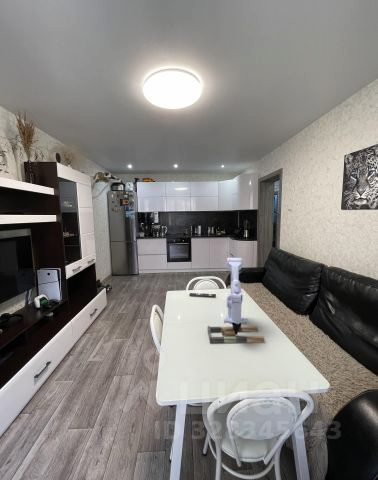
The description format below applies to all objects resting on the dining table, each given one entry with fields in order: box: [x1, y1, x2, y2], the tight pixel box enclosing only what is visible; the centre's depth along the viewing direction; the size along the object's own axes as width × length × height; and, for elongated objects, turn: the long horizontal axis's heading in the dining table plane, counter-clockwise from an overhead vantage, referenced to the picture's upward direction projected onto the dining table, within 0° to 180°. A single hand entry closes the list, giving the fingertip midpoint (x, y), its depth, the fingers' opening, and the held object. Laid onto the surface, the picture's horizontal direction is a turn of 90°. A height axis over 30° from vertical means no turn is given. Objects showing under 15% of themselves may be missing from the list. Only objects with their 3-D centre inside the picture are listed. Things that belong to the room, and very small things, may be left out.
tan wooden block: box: [221, 326, 236, 337], centre depth 127 cm, size 6×6×4 cm
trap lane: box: [207, 325, 265, 344], centre depth 128 cm, size 13×31×3 cm, turn 91°
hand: (235, 333), depth 128 cm, fingers closed
